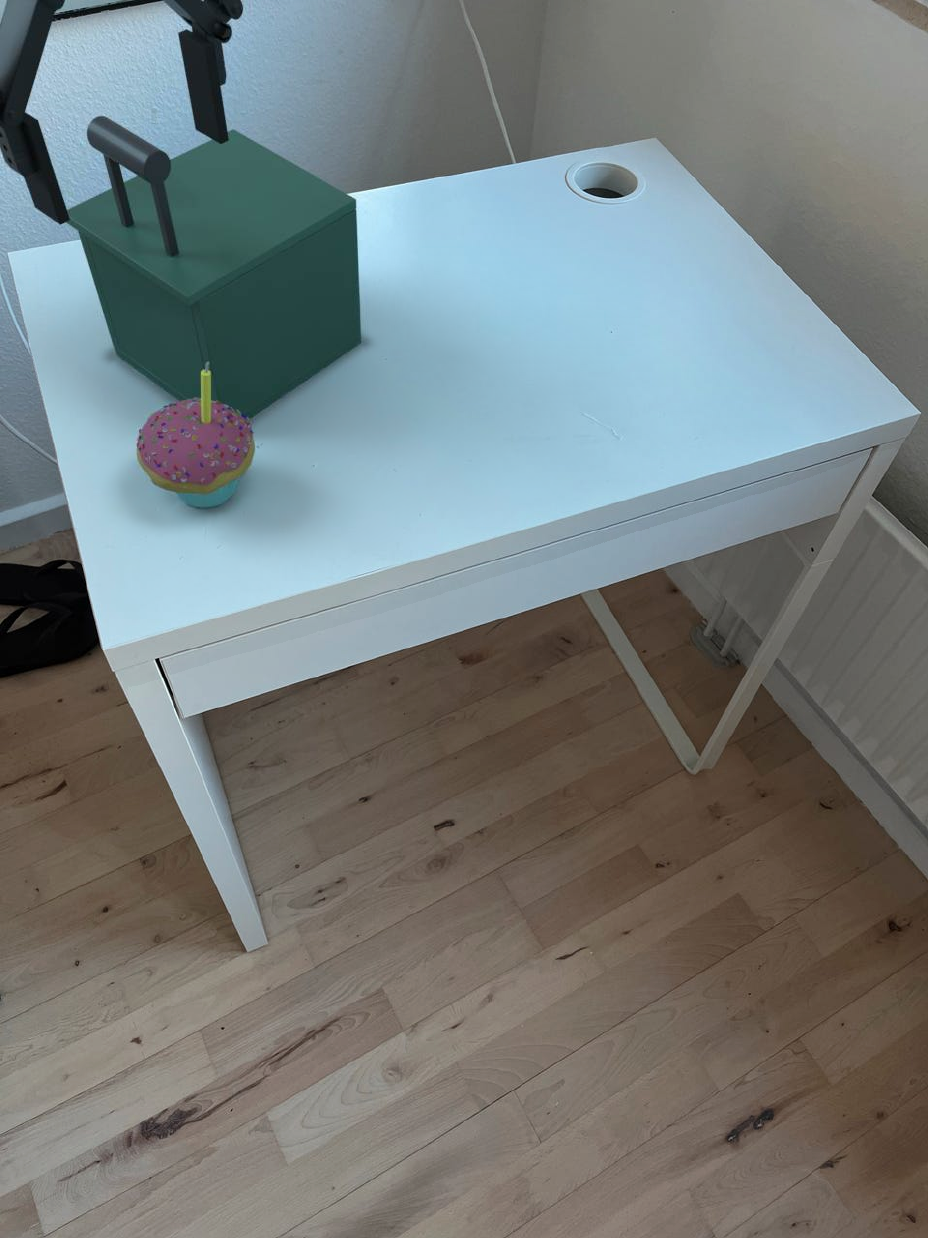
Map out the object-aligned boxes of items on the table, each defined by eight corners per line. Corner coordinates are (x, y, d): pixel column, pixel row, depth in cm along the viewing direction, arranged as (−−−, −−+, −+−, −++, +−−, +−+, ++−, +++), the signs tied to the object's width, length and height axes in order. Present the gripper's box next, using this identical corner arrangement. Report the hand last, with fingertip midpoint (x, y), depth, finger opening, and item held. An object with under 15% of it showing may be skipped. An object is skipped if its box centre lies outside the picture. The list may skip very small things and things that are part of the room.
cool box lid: (189, 306, 66) (164, 192, 59) (64, 221, 70) (27, 106, 63) (356, 208, 73) (352, 97, 66) (234, 137, 78) (218, 27, 71)
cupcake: (250, 438, 77) (228, 317, 67) (271, 515, 72) (251, 398, 62) (142, 458, 75) (104, 336, 65) (157, 538, 70) (119, 421, 60)
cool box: (225, 435, 77) (198, 301, 66) (116, 355, 81) (73, 217, 71) (361, 342, 84) (356, 209, 73) (254, 273, 89) (234, 138, 78)
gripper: (-160, -152, 40) (12, 277, 57) (273, -261, 51) (306, 125, 69) (-251, -201, 42) (-60, 225, 60) (182, -295, 54) (236, 87, 71)
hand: (136, 172), depth 64 cm, fingers open, 13 cm apart
